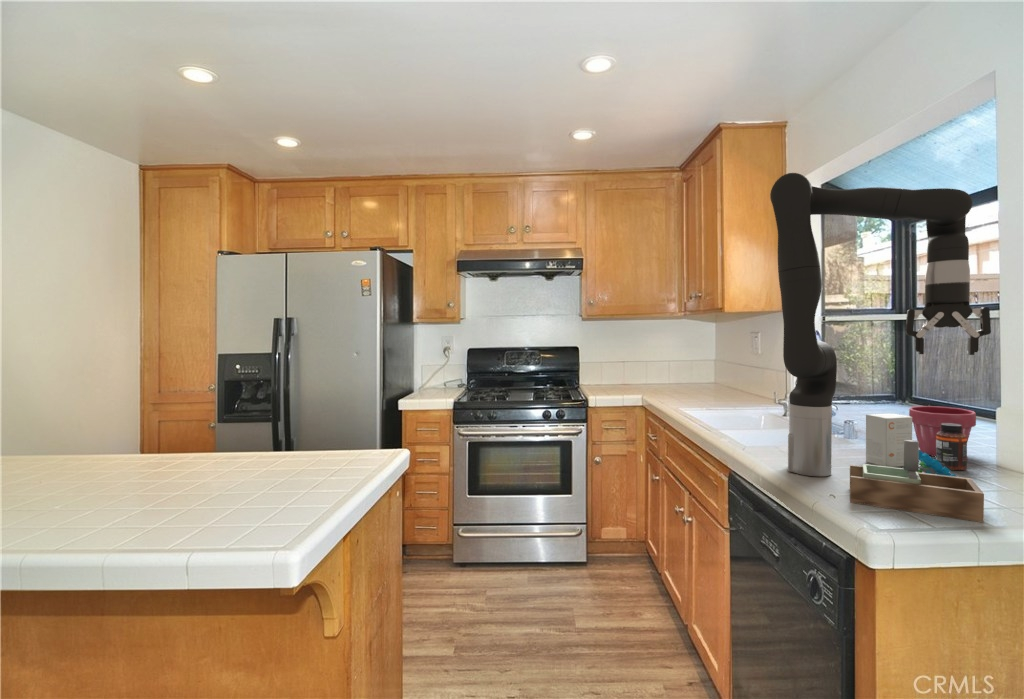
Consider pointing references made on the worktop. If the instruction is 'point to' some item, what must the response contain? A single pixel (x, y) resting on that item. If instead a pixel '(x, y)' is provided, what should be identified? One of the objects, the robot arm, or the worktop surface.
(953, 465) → the supplement bottle
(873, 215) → the robot arm
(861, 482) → the bay
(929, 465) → the gear
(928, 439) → the plant pot
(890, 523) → the worktop surface
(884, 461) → the small box
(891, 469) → the crate
